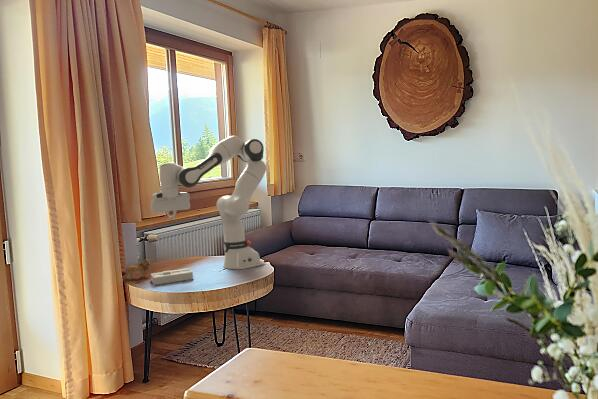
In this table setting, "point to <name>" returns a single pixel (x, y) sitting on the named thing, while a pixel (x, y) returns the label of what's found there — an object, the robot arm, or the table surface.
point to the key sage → (166, 272)
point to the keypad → (172, 277)
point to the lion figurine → (138, 269)
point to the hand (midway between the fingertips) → (171, 219)
